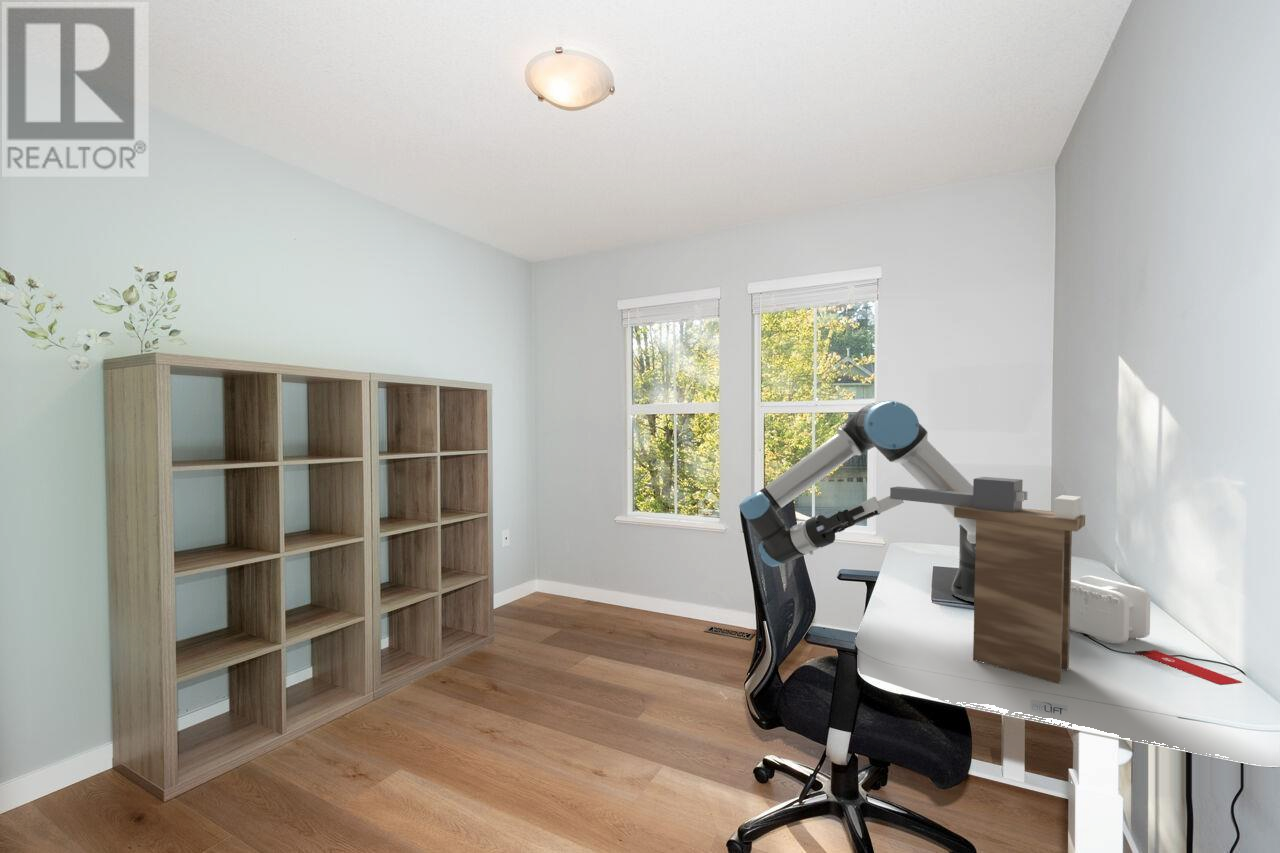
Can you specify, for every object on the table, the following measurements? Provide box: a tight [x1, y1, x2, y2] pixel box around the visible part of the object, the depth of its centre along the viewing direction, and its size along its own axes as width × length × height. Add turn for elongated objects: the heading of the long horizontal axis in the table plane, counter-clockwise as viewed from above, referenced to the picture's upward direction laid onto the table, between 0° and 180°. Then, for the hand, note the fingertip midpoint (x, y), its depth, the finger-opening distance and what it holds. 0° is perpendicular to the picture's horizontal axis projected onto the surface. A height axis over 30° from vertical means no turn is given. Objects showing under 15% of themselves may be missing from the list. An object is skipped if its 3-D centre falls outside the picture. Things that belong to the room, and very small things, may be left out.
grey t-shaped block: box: [889, 476, 1029, 513], centre depth 120 cm, size 7×25×6 cm, turn 45°
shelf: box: [953, 506, 1086, 684], centre depth 113 cm, size 10×20×30 cm, turn 45°
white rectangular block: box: [1053, 494, 1083, 519], centre depth 107 cm, size 8×3×4 cm, turn 135°
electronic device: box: [1134, 649, 1243, 686], centre depth 112 cm, size 6×1×15 cm
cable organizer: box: [1070, 575, 1152, 644], centre depth 129 cm, size 15×11×12 cm
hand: (889, 499), depth 130 cm, fingers open, 13 cm apart
